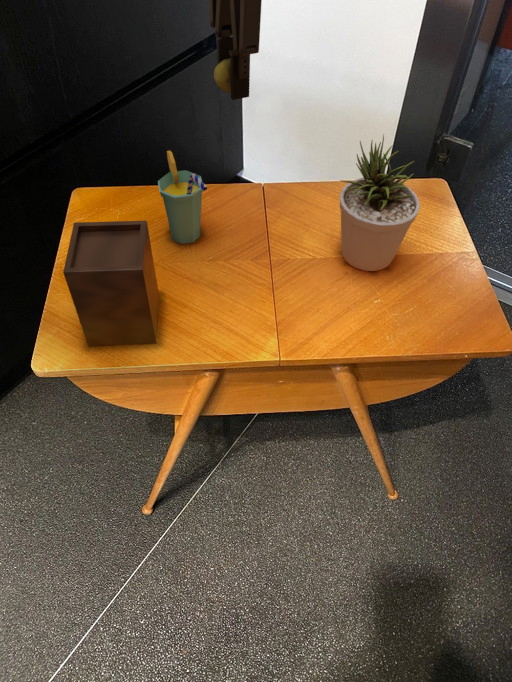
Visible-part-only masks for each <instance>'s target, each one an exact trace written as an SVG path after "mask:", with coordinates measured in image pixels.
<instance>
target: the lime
mask: <svg viewBox="0 0 512 682" xmlns="http://www.w3.org/2000/svg"><path fill="white" fill-rule="evenodd" d="M213 79H214V82H215V83H216V86H217V87H218V88H219V89H220V90H221V91H223V92H225V93H227V94H231V58H229V59H225V60H223V61H222V62H221V63H219V64H218V63H217V65H216V66H215V68H214V71H213Z"/></svg>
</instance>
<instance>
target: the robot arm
mask: <svg viewBox="0 0 512 682" xmlns="http://www.w3.org/2000/svg"><path fill="white" fill-rule="evenodd" d="M208 5H209V7H208V8H209V9H208V11H209V26H210V29H214V33H215V34H214V35H215V37H216V38H217V42H216V43H217V65H218V64H219V63H221V62H222V61H223V60H225V59H229V58H231V93H230V99H231V100H232V101H235V100H240V99H245V98H250V77H251V55H254V54H258V53H260V37H261V19H262V0H208Z"/></svg>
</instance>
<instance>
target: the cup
mask: <svg viewBox="0 0 512 682" xmlns="http://www.w3.org/2000/svg"><path fill="white" fill-rule="evenodd" d="M166 158H167V162H168V168H169V171H168V172H167V173H166V174H165V175H163V176H162V177H161V178H159V180H157V185H158V190H159V194H160V197H161V198H162V200H163V205H164V209H165V213H166V218H167V222H168V226H169V230H170V235H171V240H172V241H174V242H176V243H178V244H181V245H185V244H191V243H194V242H196V241H197V240H198V239H199V238H201V225H202V223H201V221H202V220H201V219H202V200H203V199H202V198H203V197H202V195H203V193H204V192H205V191H207V189H208V187H207V185H206V184H205V183H204V182H203V179H202V176H201V175H199V174H197V173H194V172H191V171H188V170H178V169H177V165H176V164H177V163H176V160H175V157H174V155H173V152H172V150H167V151H166Z"/></svg>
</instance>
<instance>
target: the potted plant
mask: <svg viewBox="0 0 512 682" xmlns="http://www.w3.org/2000/svg"><path fill="white" fill-rule="evenodd" d="M384 135H385V134H384V133H383V134H382V141H380V142H379V144H378V146H377V142H375V144H374V148H373V139H371V141H370V150H369V152H368V154H369V160H368V158H367V156H366V154H365V152H364V148H363V145H362V142H361V140H359V146H360V150H361V154H362V156H360V157H359V155H358V153H356V159H357V162H356V163H355V164H356V166H357V168H358V171H359V172H360V174H361V176H362V177H360V178H357V179H354V180H344V179H343V180H341V179H340V182H342V183H347V184H346V185H344V186H343V187H342V189H341V191H340V193H339V209H340V246H341V254H342V255H341V256H342V258H343V259H344V260H345V262H346V263H347V264H349V265H350V266H352V267H354V268H355V269H358V270H360V271H366V272H376V271H380V270H383V269H385V268H387V267H388V266H390V264H391V263H392V262H393V260H394V258H395V257H396V255H397V252H398V251H399V249H400V247H401V246H402V245H401V244H402V243H403V241H404V239H405V237H406V235H407V233H408V232H409V229H410V227H411V225H412V224H413V223H414V221H415V220H416V219H417V216H418V215H419V212H420V209H421V203H420V199H419V198H418V196H417V194H416V193H415V191H413V190H412V189H411V188H410V187H409V186H408V185H405V182H407V181H408V180H409V179H410V178H411V177H413V175H415V174H414V173H412V174H410V175H409V176H407V174H402V173H403V172H404V171H405V170H406V169H407V168H408V167H409V166H410V165H411V164H413V163H414V162H415V160H413V161H411V162H409V163H407V164H405V165H402V166H398V167H397V168H394V169H392V168H391V164H390V161H391V160H392V158H393V156H395V155H396V154H398V153H399V152H400V150H396V151H395V152H393V153H392V154H391V155H390V156H388V155H389V152H390V151H391V149H392V148H393V146H394V144H392V145H391V146H390V147H389V148H388V149H387V150H386V151H385V153H384V152H383V149H384V143H385V142H384V141H385V136H384ZM387 156H388V158H387ZM386 168H388V172H387V173H386ZM398 170H399V171H398ZM397 171H398V172H397ZM395 172H397V173H396V174H395V175H394V173H395ZM392 174H393V175H392ZM401 174H402V175H401Z"/></svg>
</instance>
